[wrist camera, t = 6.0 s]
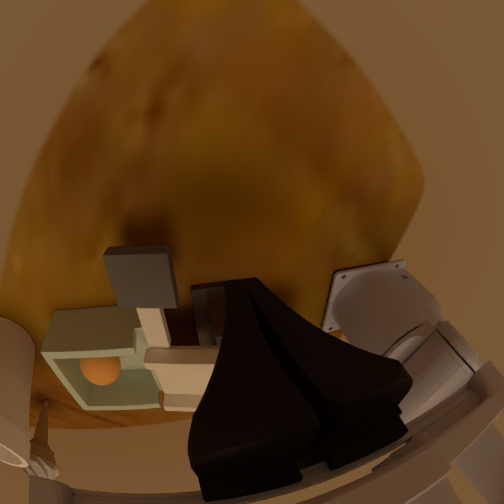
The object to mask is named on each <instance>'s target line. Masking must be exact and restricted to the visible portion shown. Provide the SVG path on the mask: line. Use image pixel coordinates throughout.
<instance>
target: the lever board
mask: <svg viewBox="0 0 504 504" xmlns="http://www.w3.org/2000/svg"><path fill="white" fill-rule="evenodd" d="M103 258H104V261H105V265H106V268H107V272H108V275H109V279H110V282H111V285H112V288H113V291H114V294H115V297H116V300H117V303H118V306H119V308H136V309H137V313H138V316H139V319H140V322H141V325H142V328H143V331H144V334H145V337H146V340H147V343H148V345H149V347H151V348H146V352H145V357H144V361H143V364H144V366H145V368H146V369H149V370H155V372H156V374H157V377H158V379H159V381H160V384H161V386H162V388H163V391H164V393H165V396H164V405H163V407H164V409H165V410H166V411H191V412H195V411H196V409H197V407H198V405H199V403H200V401H201V399H202V397H203V394H204V392H205V390H206V387H207V385H208V382H209V380H210V377H211V375H212V372H213V369H214V366H215V363H216V359H217V356H218V352H219V348H220V346H218V347H217V346H170V343H171V338H170V334H169V330H168V326H167V322H166V318H165V314H164V310H163V308H177V305H178V299H179V297H178V291H177V286H176V280H175V274H174V268H173V261H172V255H171V248H170V245H145V246H119V247H108V248H107V250H106V251H105V253H104V254H103Z"/></svg>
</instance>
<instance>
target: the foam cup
mask: <svg viewBox="0 0 504 504" xmlns="http://www.w3.org/2000/svg"><path fill="white" fill-rule="evenodd" d="M34 355H35V344H34V343H33V341H32V339H31V337H30V336H29V334H28V333H27V332H26V331H25V330H24V329H23V328H22V327H21V326H19V325H18V324H16V323H14V322H13V321H11V320H10V319H6V318H2V317H0V461H2V462H5V463H7V464H10V465H14V466H18V467H23V468H24V467H27V466H29V458H30V448H31V444H30V441H29V407H30V392H31V382H32V373H33V365H34V358H35V356H34Z"/></svg>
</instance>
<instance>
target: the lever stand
mask: <svg viewBox="0 0 504 504" xmlns="http://www.w3.org/2000/svg"><path fill="white" fill-rule="evenodd" d="M225 282H226V281H225ZM225 282H217V283H210V284H202V285H194V286H190V288H191V295H192V302H193V308H194V315H195V321H196V327H197V333H198V339H199V345H200V346H217V347H218V346H220V344H221V340H222V335H223V329H224V323H225V304H224V287H223V284H224V283H225Z"/></svg>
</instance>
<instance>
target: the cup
mask: <svg viewBox="0 0 504 504" xmlns="http://www.w3.org/2000/svg"><path fill="white" fill-rule="evenodd" d="M146 348H151V347H149V345H148V343H147V340H146V337H145V334H144V331H143V328H142V325H141V322H140V319H139V316H138V313H137V309H136V308H119V306H118V305H114V306H104V307H93V308H82V309H71V310H58V311H54V314H53V316H52V319H51V322H50V325H49V327H48V330H47V333H46V336H45V339H44V342H43V345H42V349H41V354H42V355H43V357H44V358H45V360H46V361H47V363H48V364H49V365H50V367H51V368H52V370H53V371H54V373H55V374H56V375H57V377H58V378H59V379H60V381H61V382H62V383H63V385H64V386H65V387H66V389H67V390H68V391H69V392H70V394H71V395H72V396H73V397H74V399H75V400H76V401H77V402H78V403H79V405H80V406H81V407H82V408H83V409H84V410H130V409H148V408H161V404H160V391H161V390H163V388H162V386H161V384H160V381H159V379H158V377H157V374H156V372H155V370H149V369H146V368H145V366H144V364H143V361H144V357H145V352H146ZM113 356H119V358H120V361H121V371H120V374H119V376H118V378H117V379H116V380H115V381H114V382H112V383H111V384H108V385H97V384H94V383H92V382H90V381H89V380H88V379H87V378H86V377H85V376H84V375H83V373H82V371H81V369H80V364H79V359H80V358H96V357H113Z"/></svg>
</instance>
